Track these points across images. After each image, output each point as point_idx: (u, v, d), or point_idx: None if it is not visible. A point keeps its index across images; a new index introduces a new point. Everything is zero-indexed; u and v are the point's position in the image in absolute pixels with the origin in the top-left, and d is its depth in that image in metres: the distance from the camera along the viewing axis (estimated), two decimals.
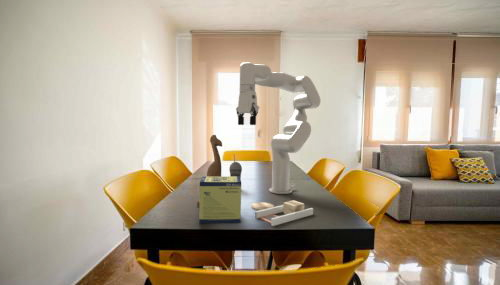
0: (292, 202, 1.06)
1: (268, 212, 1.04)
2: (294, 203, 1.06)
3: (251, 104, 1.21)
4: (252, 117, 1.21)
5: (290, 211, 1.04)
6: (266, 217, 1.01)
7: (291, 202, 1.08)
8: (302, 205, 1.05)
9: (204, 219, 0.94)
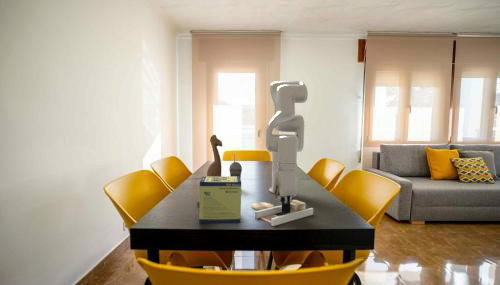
0: (293, 202, 1.07)
1: (268, 212, 1.04)
2: (295, 202, 1.07)
3: None
4: (289, 203, 1.03)
5: (291, 210, 1.04)
6: (266, 217, 1.01)
7: (292, 201, 1.08)
8: (303, 204, 1.05)
9: (204, 219, 0.94)
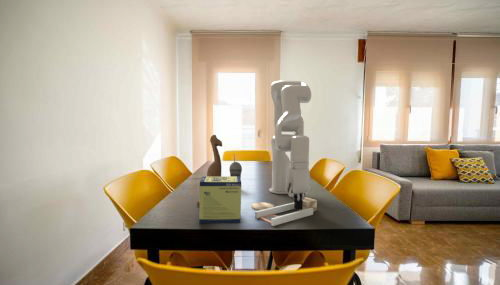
0: (305, 199, 1.11)
1: (268, 212, 1.04)
2: (307, 199, 1.11)
3: None
4: None
5: (304, 207, 1.08)
6: (266, 217, 1.01)
7: (304, 198, 1.12)
8: (315, 201, 1.10)
9: (204, 219, 0.94)
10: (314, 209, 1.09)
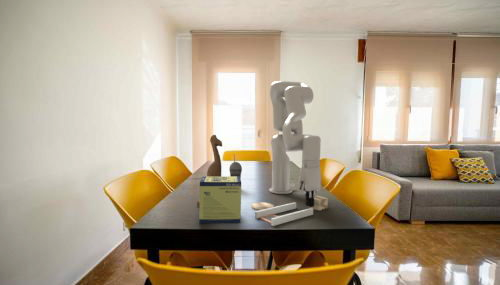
0: (316, 197, 1.15)
1: (268, 212, 1.04)
2: (318, 197, 1.15)
3: None
4: None
5: (315, 205, 1.12)
6: (266, 217, 1.01)
7: (315, 196, 1.16)
8: (326, 199, 1.14)
9: (204, 219, 0.94)
10: (325, 207, 1.14)
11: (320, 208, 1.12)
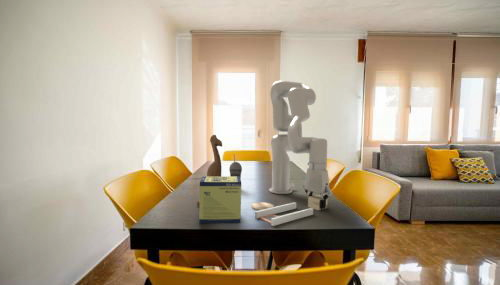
0: (316, 197, 1.15)
1: (268, 212, 1.04)
2: (318, 197, 1.15)
3: None
4: None
5: (315, 204, 1.13)
6: (266, 217, 1.01)
7: (315, 196, 1.17)
8: (326, 199, 1.14)
9: (204, 219, 0.94)
10: None
11: None
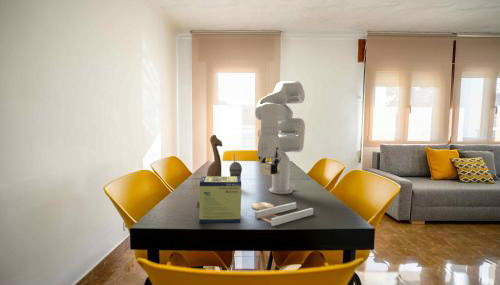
0: (268, 163, 1.14)
1: (268, 212, 1.04)
2: (270, 163, 1.14)
3: None
4: None
5: (266, 170, 1.11)
6: (266, 217, 1.01)
7: (268, 162, 1.15)
8: (278, 165, 1.13)
9: (204, 219, 0.94)
10: (277, 172, 1.12)
11: None
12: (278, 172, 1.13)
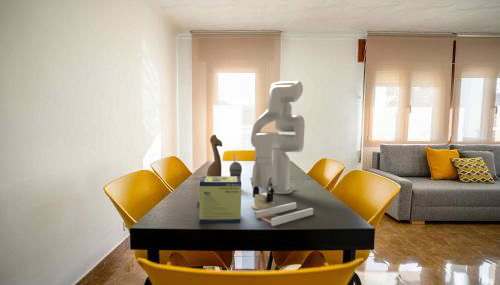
0: (262, 195, 1.15)
1: (268, 212, 1.04)
2: (264, 195, 1.15)
3: None
4: None
5: (260, 202, 1.12)
6: (266, 217, 1.01)
7: (262, 194, 1.16)
8: None
9: (204, 219, 0.94)
10: (270, 204, 1.13)
11: (264, 205, 1.11)
12: (272, 204, 1.14)
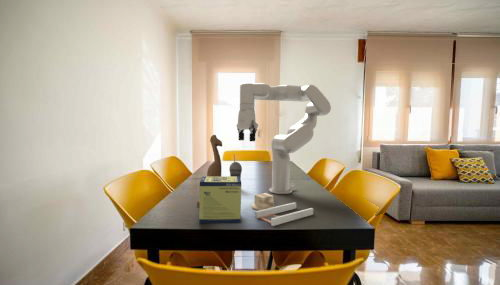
0: (262, 195, 1.15)
1: (268, 212, 1.04)
2: (264, 195, 1.15)
3: None
4: None
5: (260, 202, 1.12)
6: (266, 217, 1.01)
7: (262, 194, 1.16)
8: (271, 197, 1.13)
9: (204, 219, 0.94)
10: (270, 204, 1.13)
11: (264, 205, 1.11)
12: (272, 204, 1.14)
